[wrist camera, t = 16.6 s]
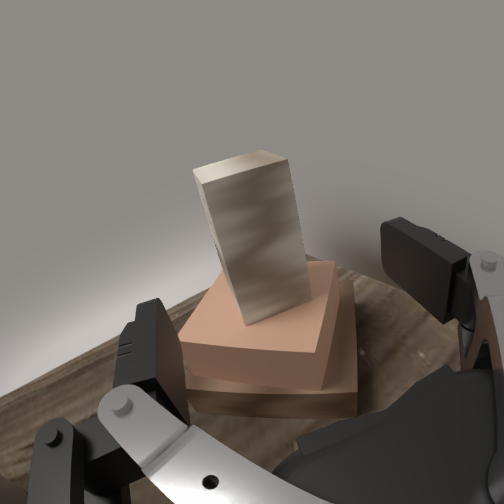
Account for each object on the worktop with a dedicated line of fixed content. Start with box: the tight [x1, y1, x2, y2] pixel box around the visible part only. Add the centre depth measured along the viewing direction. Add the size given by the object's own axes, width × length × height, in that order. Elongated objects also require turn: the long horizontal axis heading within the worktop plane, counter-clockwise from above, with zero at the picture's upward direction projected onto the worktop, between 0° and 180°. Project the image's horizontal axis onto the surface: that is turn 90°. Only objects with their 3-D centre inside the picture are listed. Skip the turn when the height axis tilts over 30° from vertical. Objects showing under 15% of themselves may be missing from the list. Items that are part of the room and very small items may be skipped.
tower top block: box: [178, 261, 340, 391], centre depth 25 cm, size 10×10×4 cm
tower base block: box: [185, 280, 358, 419], centre depth 27 cm, size 13×13×4 cm
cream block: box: [193, 150, 312, 326], centre depth 21 cm, size 5×5×10 cm
